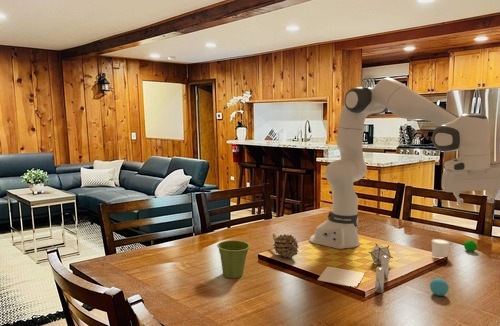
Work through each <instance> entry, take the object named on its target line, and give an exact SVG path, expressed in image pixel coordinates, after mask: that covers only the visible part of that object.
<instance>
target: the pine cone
mask: <svg viewBox="0 0 500 326" xmlns="http://www.w3.org/2000/svg"><path fill="white" fill-rule="evenodd" d="M272 238H273V241H274V243H273V244H272V246H273V248H272V249H274V251H275V254H277V255H278V256H280V257H284V258H289V259H290V258H293V257H295V256H296V255H298V252H299V250H298V249H299V248H300V245H298V244H299V242H298V240H297V237H296V238H295V237H294V236H293V235H292V234H286V233H284V234H280V235H277V234H275V233H273V234H272Z"/></svg>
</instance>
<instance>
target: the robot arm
mask: <svg viewBox="0 0 500 326" xmlns="http://www.w3.org/2000/svg"><path fill="white" fill-rule="evenodd" d="M343 100H344V101H343V102H344V105H343V106H342V108H341V111H340V114H339V119H338V125H337V126H338V128H337V136H336V137H337V138H336V146H337V148H339V152H340V159H335V160H334V161H332V162H330V163H328V164H327V166H326V167H325V170H324V176H325V179H326V180H327V182H328V183H329V184H330V187H331V193H332V209H331V210H329V212H328V213H327V219H326V220H324V221H323V222H322V223H320V224H319V225H318V226H317V227H316V229H315V232H314V234H311V236H310V238H309V242H310V243H312V244H314V245H315V244H316V245H320V246H326V247H328V248H329V247H330V248H334V249H338V250H340V249H341V250H342V249H349V248H350V249H351V248H357V247H358V246H360V244H361V243H360V241H359V235H358V232H359V231H358V227H359V213H358V207H359V206H358V204H359V203H358V202H359V198H358V197H359V196H358V195H357V194H356V192H355V188H354V182H358V181H360V180H361V179H363V178H364V177H366V175H367V172H368V165H367V164H366V162H365V161H364V160H365V159H364V153H363V141H364V139H363V138H364V131H365V130H364V129H365V120H366V118H367V117H368V116H376V115H379V114H384V113H386V112H387V111H389V112H391V113H392V114H393V115H395V116H396V117H399V118H401V119H405V120H422V121H427V122H431V123H433V124H435V125H436V126H437V127H435V128H434V129H433V131H432V132H433V133H432V135H431V141H432V143H433V146H434V147H435V149H436V150H438V151H440V152H444V153H449V152H456V151H457V152H459V156H458V157H456V158H452V159H451V160H446V161H445V162H444V163H443V164H444V168H445V169H444V170H443V172H442V175H441V189H442V191H444V192H445V193H453V196H454V197H455V198H456V204H457V205H464V199H463V198H462V197H461V198H460V193H461V192H479V191H490V192H491V194H490V196H487V197H486V199H487V201H486V202H487V203H488V204H494V203H495V198H496V196H497V195H498V193H499V191H500V160H499V161H497V160H495V161H494V160H493V161H491V150H490V142H491V128H490V127H491V126H490V122H489V121H490V120H489V119H488V117H487V115H484V114H482V113H479V112H478V113H477V112H465V113H463V114H461V115H460V116H457V115H456V114H454V113H452V112H451V111H449V110H448V109H445V108H444V107H442V106H441V105H438V104H436V103H435V102H433V101H431V100H429V99H427V98H426V97H424V96H422V95H421V94H419V93H418V92H416V91H414V90H413V89H411V88H410V87H409V86H407V85H406V84H404V83H403V82H400V81H398V80H396V79H395V78H391V77H385V78H384V77H383V78H382V79H381V80H379V81H378V82H377V83H376V85H375V86H374V87H372V86H369V87H368V86H357V87H352V88H350V89H349V90H348V91H347V92H346V93H345V96H344V99H343Z"/></svg>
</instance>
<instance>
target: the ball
mask: <svg viewBox="0 0 500 326" xmlns="http://www.w3.org/2000/svg"><path fill="white" fill-rule="evenodd" d="M429 288H430V290H431V292H432V293H433V294H434V295H435V296H439V297H442V296H445V295H446V294H447V293H448V292H449V285H448V282H447V281H446V280H445V279H443V278H439V277H437V278H433V279H432V280H431V281H430V285H429Z"/></svg>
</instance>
